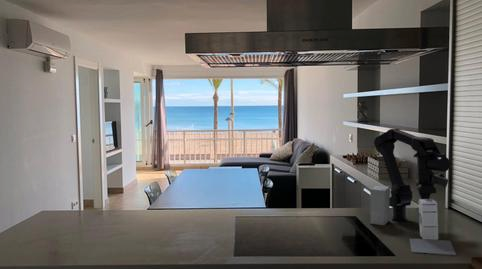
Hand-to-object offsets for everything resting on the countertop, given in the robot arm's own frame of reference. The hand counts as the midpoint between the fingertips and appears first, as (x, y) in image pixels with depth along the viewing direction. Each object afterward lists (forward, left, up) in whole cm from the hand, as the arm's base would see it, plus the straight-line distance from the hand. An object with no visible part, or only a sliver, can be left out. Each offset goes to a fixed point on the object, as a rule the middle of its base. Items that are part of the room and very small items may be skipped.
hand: (426, 206), depth 172 cm
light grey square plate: (+24, 0, -9) cm, 26 cm away
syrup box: (+13, 0, -9) cm, 16 cm away
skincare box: (-5, -18, -9) cm, 21 cm away
